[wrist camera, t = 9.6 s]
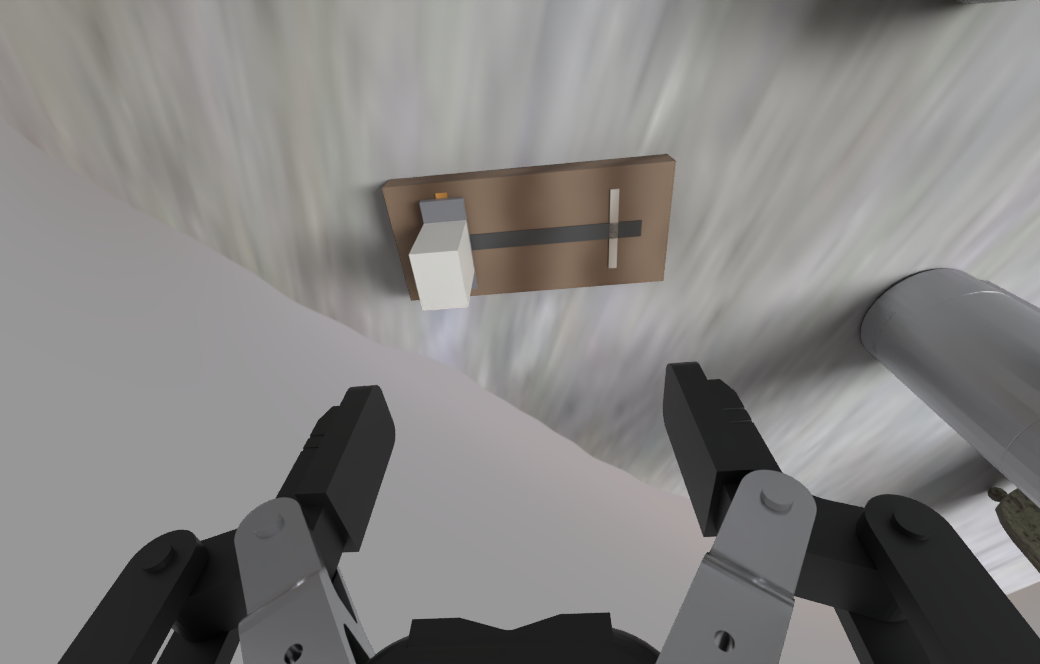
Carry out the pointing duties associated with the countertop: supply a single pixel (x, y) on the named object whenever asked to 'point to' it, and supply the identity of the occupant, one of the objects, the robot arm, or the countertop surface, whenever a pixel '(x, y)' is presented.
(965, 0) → the supplement bottle
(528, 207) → the board
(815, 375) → the countertop surface
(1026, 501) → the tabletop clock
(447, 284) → the fader
